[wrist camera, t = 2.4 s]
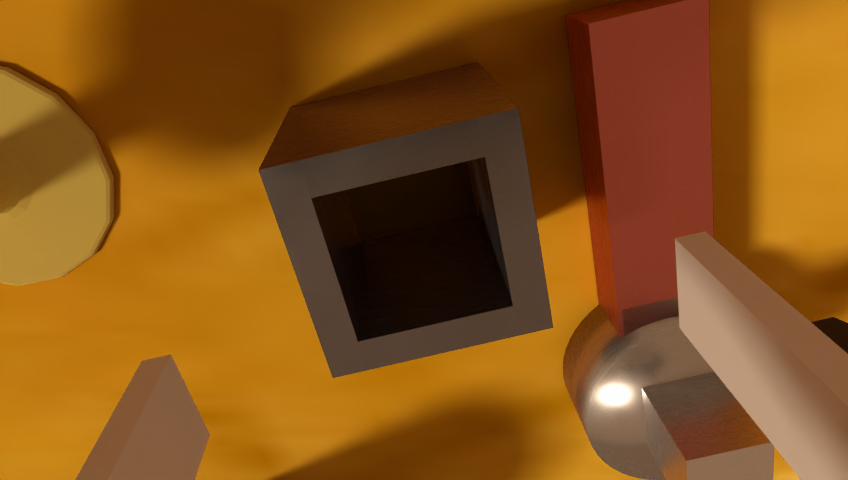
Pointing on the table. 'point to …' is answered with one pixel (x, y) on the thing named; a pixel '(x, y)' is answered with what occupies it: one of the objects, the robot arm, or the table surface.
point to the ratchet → (649, 247)
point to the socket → (419, 249)
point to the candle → (48, 184)
